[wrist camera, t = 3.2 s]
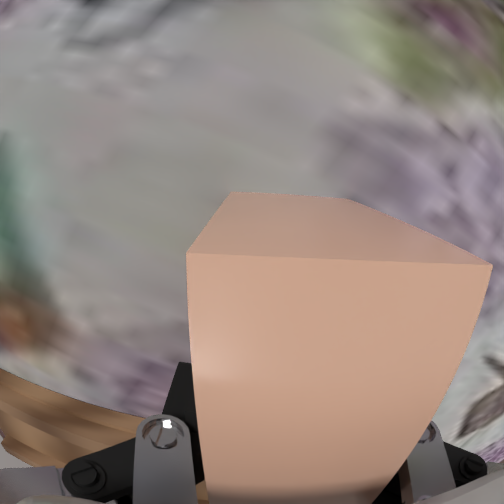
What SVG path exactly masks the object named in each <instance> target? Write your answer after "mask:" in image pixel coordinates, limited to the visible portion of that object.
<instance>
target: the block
mask: <svg viewBox="0 0 504 504" xmlns="http://www.w3.org/2000/svg"><path fill="white" fill-rule="evenodd" d="M186 264H187V295H188V316H189V334H190V349H191V362H192V374H193V385H194V396H195V405H196V414H197V423H198V432H199V439H200V447H201V454H202V461H203V468H204V475H205V481H206V487H207V493H208V499H209V504H371V503H372V502H373V501H374V500H375V499H376V498H377V496H378V495H379V494H380V493H381V492H382V490H383V489H384V488H385V487H386V486H387V484H388V483H389V482H390V480H391V479H392V478H393V477H394V475H395V474H396V473H397V471H398V470H399V469H400V467H401V466H402V464H403V463H404V462H405V460H406V459H407V457H408V456H409V454H410V453H411V452H412V450H413V449H414V447H415V446H416V444H417V442H418V441H419V439H420V438H421V436H422V435H423V433H424V431H425V430H426V428H427V426H428V425H429V423H430V421H431V420H432V418H433V416H434V414H435V413H436V411H437V409H438V407H439V405H440V404H441V402H442V400H443V398H444V396H445V394H446V392H447V390H448V388H449V386H450V384H451V382H452V380H453V378H454V376H455V374H456V371H457V369H458V367H459V365H460V362H461V360H462V358H463V355H464V353H465V351H466V348H467V346H468V343H469V341H470V338H471V335H472V333H473V330H474V327H475V324H476V322H477V319H478V316H479V313H480V310H481V307H482V303H483V300H484V297H485V294H486V290H487V287H488V283H489V279H490V275H491V271H492V267H493V265H492V264H490V263H488V262H486V261H484V260H482V259H480V258H479V257H477V256H475V255H473V254H471V253H469V252H467V251H465V250H463V249H461V248H459V247H457V246H455V245H453V244H451V243H449V242H447V241H445V240H442V239H440V238H438V237H436V236H434V235H432V234H430V233H428V232H425V231H423V230H421V229H419V228H417V227H414V226H412V225H410V224H408V223H405V222H403V221H401V220H398V219H396V218H394V217H391V216H389V215H387V214H384V213H382V212H379V211H377V210H375V209H372V208H370V207H367V206H365V205H362V204H360V203H357V202H355V201H352V200H349V199H341V198H330V197H317V196H304V195H289V194H272V193H252V192H230V194H229V195H228V196H227V198H226V199H225V200H224V202H223V203H222V204H221V206H220V207H219V208H218V210H217V211H216V212H215V214H214V215H213V217H212V218H211V219H210V221H209V222H208V223H207V225H206V226H205V227H204V229H203V230H202V232H201V233H200V234H199V236H198V237H197V239H196V240H195V241H194V243H193V244H192V245H191V247H190V248H189V250H188V251H187V253H186Z"/></svg>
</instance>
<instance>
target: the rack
mask: <svg viewBox="0 0 504 504" xmlns="http://www.w3.org/2000/svg"><path fill="white" fill-rule="evenodd" d="M144 419H146V418H142V417H137V416H133V415H129V414H125V413H121V412H117V411H113V410H109V409H106V408H102V407H99V406H95V405H92V404H89V403H85V402H82V401H79V400H76V399H73V398H70V397H67V396H64V395H62V394H59V393H56V392H54V391H51V390H48V389H46V388H43V387H41V386H38V385H36V384H33V383H31V382H29V381H26V380H24V379H22V378H19V377H17V376H15V375H13V374H11V373H9V372H7V371H4V370H2V369H0V428H1V430H2V431H3V433H4V434H5V438H4V439H3V441H2V442H1V444H2V446H3V447H4V449H5V450H6V451H7V452H8V453H10V454H11V455H13V456H15V457H16V458H18V459H20V460H22V461H24V462H25V463H27V464H29V465H31V466H33V467H44V466H55V467H56V468H64V467H65V465H66V464H67V463H68V462H70V461H72V460H74V459H76V458H79V457H82V456H85V455H88V454H91V453H94V452H97V451H100V450H103V449H105V448H108V447H111V446H114V445H116V444H119V443H122V442H124V441H127V440H129V439H132V438H134V437H136V431H137V427H138V425H139V424H140V423H141V422H142V421H143V420H144ZM196 493H197V500H198V504H209V499H208V493H207V487H206V481H205V479H204V481H202V482H200V483H199V484H197V485H196Z"/></svg>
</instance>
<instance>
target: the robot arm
mask: <svg viewBox="0 0 504 504" xmlns="http://www.w3.org/2000/svg"><path fill="white" fill-rule="evenodd" d="M204 479H205V475H204V468H203V461H202V454H201V447H200V439H199V432H198V423H197V414H196V405H195V396H194V385H193V374H192V363H184V362H179V364H178V366H177V369H176V372H175V375H174V378H173V381H172V384H171V387H170V390H169V393H168V397H167V400H166V403H165V406H164V409H163V412H162V414H160V415H153V416H150V417H147V418H146V419H144V420H143V421H142V422H141V423H140V424H139V425H138V427H137V431H136V437H134V438H132V439H129V440H127V441H124V442H122V443H119V444H116V445H114V446H111V447H108V448H105V449H103V450H100V451H97V452H94V453H91V454H88V455H85V456H82V457H79V458H76V459H74V460H72V461H70V462H68V463H67V464H66V465H65V467H64V468H56V467H55V466H44V467H30V468H4V469H0V504H198V500H197V493H196V485H197V484H199V483H200V482H202V481H204ZM371 504H504V464H501V463H495V462H489V461H488V462H487V463H485V461H484V460H483V459H482V458H481V457H480V456H478V455H476V454H474V453H471V452H468V451H466V450H463V449H461V448H458V447H456V446H453V445H451V444H448V443H446V442H444V441H443V440H442V437H441V434H440V431H439V429H438V427H437V425H436V424H435V423H434V422H433V421H430V423H429V425H428V426H427V428H426V430H425V431H424V433H423V435H422V436H421V438H420V439H419V441H418V442H417V444H416V446H415V447H414V449H413V450H412V452H411V453H410V454H409V456H408V457H407V459H406V460H405V462H404V463H403V464H402V466H401V467H400V469H399V470H398V471H397V473H396V474H395V475H394V477H393V478H392V479H391V480H390V482H389V483H388V484H387V486H386V487H385V488H384V489H383V490H382V492H381V493H380V494H379V495H378V496H377V498H376V499H375V500H374V501H373V502H372V503H371Z"/></svg>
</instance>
